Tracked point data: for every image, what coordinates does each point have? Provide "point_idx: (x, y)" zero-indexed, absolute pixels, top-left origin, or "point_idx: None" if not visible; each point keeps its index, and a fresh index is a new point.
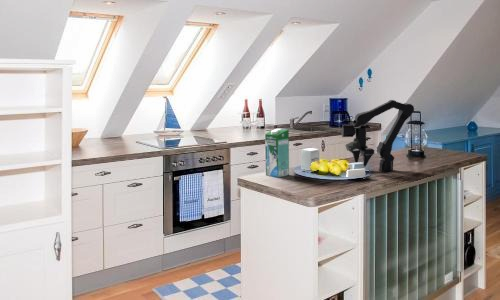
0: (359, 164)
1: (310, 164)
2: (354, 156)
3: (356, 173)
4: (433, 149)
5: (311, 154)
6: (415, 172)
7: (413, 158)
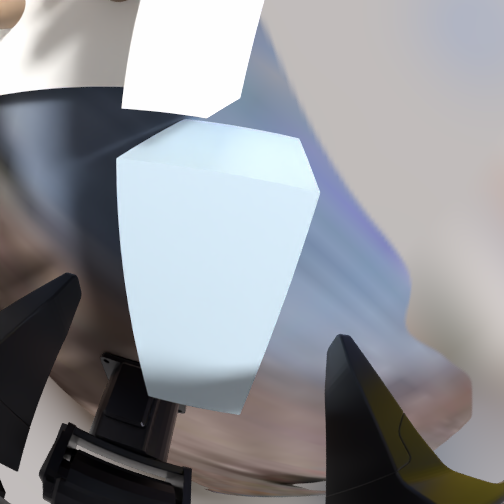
0: (128, 272)
1: None
2: (377, 435)
3: None
4: None
5: None
6: (81, 401)
7: (293, 479)
